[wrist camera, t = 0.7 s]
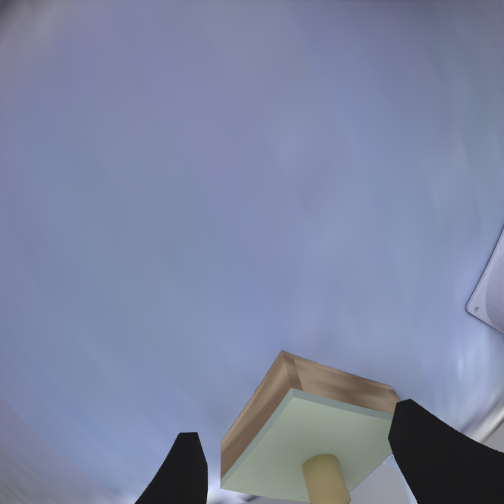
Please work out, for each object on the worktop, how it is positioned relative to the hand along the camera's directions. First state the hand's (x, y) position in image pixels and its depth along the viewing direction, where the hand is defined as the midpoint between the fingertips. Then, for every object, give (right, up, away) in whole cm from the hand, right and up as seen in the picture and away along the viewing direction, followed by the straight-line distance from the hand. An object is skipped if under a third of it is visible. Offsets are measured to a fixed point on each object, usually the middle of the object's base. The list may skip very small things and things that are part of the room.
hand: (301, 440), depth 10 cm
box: (+2, -6, +12) cm, 14 cm away
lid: (+3, -7, +8) cm, 11 cm away
